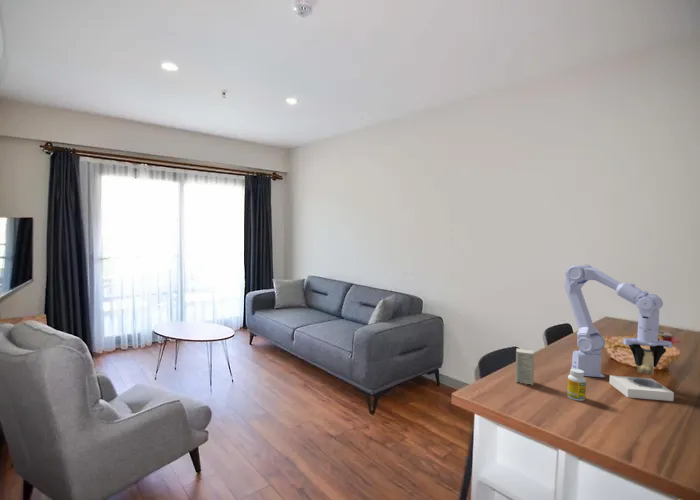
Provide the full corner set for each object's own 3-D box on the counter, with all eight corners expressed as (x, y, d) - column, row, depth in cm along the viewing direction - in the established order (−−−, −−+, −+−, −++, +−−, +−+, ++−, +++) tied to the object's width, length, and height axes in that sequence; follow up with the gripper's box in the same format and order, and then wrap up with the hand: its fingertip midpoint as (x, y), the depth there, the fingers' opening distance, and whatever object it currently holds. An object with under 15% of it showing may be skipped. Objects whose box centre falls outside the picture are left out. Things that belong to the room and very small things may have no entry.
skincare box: (533, 381, 139) (534, 350, 138) (533, 386, 135) (535, 353, 134) (515, 378, 141) (516, 347, 141) (514, 382, 137) (516, 351, 136)
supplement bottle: (571, 392, 129) (572, 366, 129) (588, 398, 125) (589, 371, 124) (563, 396, 126) (565, 369, 126) (580, 402, 122) (581, 374, 121)
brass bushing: (642, 373, 130) (643, 351, 129) (634, 369, 134) (636, 347, 133) (656, 375, 129) (657, 352, 128) (648, 370, 133) (649, 348, 133)
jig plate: (627, 397, 126) (628, 388, 126) (609, 383, 138) (609, 375, 138) (673, 401, 124) (673, 392, 124) (650, 386, 136) (651, 378, 136)
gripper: (631, 330, 128) (629, 367, 129) (679, 332, 125) (676, 371, 126) (620, 324, 135) (618, 360, 135) (665, 327, 132) (662, 363, 133)
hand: (645, 365), depth 131 cm, fingers closed on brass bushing, 4 cm apart
